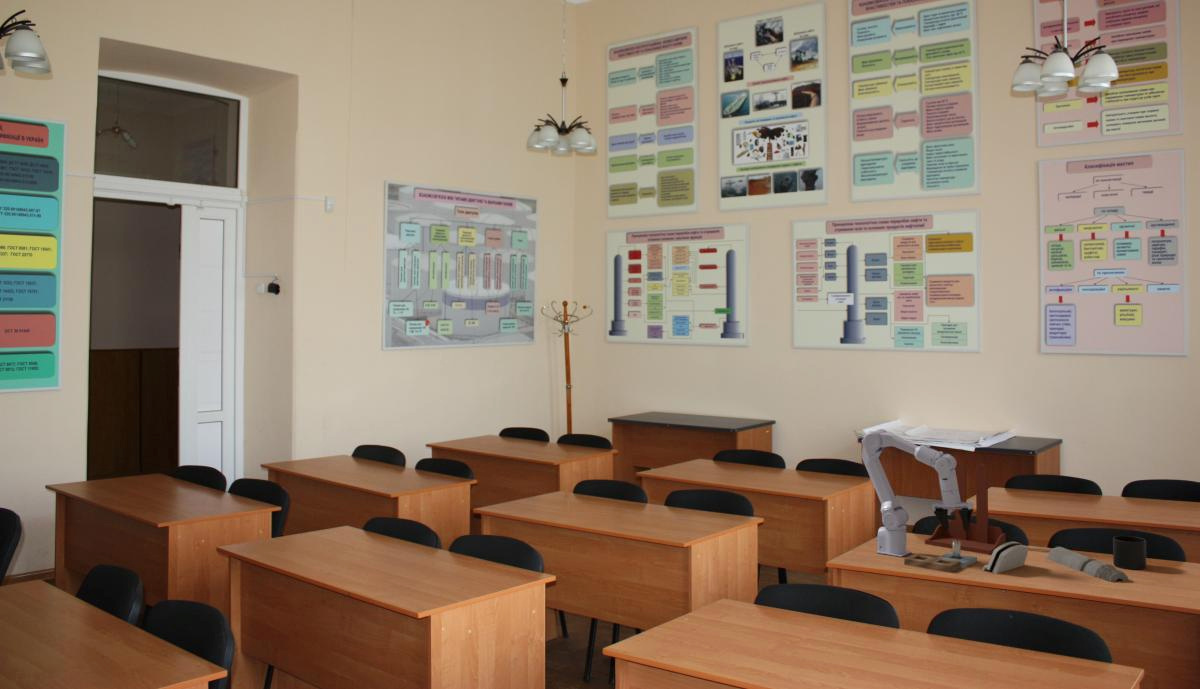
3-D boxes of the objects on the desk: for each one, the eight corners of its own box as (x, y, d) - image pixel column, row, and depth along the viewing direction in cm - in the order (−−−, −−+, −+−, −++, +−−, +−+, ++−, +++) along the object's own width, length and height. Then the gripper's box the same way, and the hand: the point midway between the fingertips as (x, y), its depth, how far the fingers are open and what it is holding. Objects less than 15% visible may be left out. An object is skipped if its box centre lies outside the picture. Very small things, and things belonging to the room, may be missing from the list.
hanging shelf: (924, 544, 345) (923, 463, 345) (942, 538, 354) (940, 459, 354) (989, 555, 328) (988, 469, 327) (1005, 548, 337) (1004, 465, 336)
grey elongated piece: (1069, 546, 323) (1131, 568, 293) (1069, 558, 323) (1132, 582, 293) (1046, 547, 321) (1106, 569, 292) (1046, 559, 321) (1106, 583, 292)
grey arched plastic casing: (1010, 562, 318) (1019, 536, 315) (1022, 569, 314) (1032, 543, 311) (981, 570, 308) (990, 543, 305) (994, 578, 304) (1003, 551, 301)
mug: (1127, 559, 317) (1127, 533, 317) (1152, 569, 305) (1152, 541, 305) (1102, 561, 316) (1101, 534, 316) (1126, 570, 304) (1125, 542, 304)
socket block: (935, 562, 319) (935, 558, 319) (948, 556, 326) (948, 552, 326) (965, 567, 312) (964, 562, 312) (977, 561, 320) (977, 556, 319)
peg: (951, 562, 319) (950, 541, 319) (954, 560, 321) (954, 540, 321) (958, 563, 318) (958, 542, 317) (961, 561, 319) (961, 541, 319)
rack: (904, 564, 318) (904, 558, 318) (915, 559, 323) (914, 553, 323) (950, 572, 307) (950, 566, 306) (960, 567, 312) (960, 561, 312)
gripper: (975, 488, 317) (982, 528, 316) (937, 489, 328) (944, 527, 327) (964, 491, 312) (971, 532, 311) (926, 492, 324) (932, 531, 323)
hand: (956, 530), depth 319 cm, fingers open, 7 cm apart
